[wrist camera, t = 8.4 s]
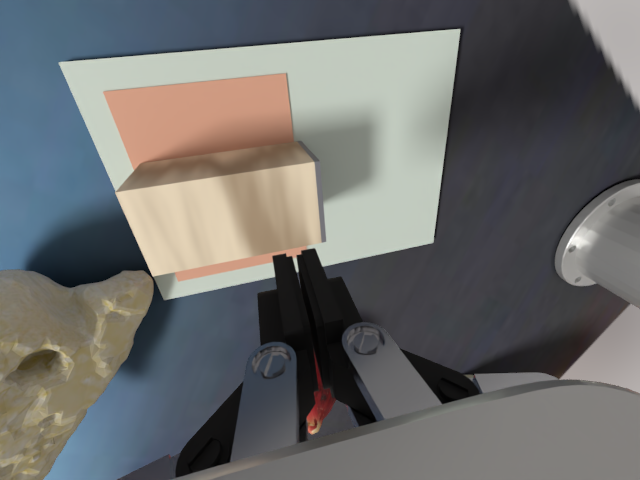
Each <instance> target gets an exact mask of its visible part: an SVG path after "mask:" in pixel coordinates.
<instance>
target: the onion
mask: <svg viewBox="0 0 640 480" xmlns="http://www.w3.org/2000/svg"><path fill="white" fill-rule="evenodd" d="M313 350H314V349H313ZM314 357H315V353H314ZM315 365H316V372H317V380H318V387H319V391H316V392H314V396H315V403H316V404H315V405H314V407H313V409H312V410H311V412H310V413H309V415H308V416H307V421H308V432H309V433H310V434H314V433H316V432H318V431H319V428H320V427H321V424H322V421H323V419H324V418H325V417H326V416H327V415H328V414H329V412H330V411H331V409H332V406H333V404H334V402H335V401H336V399H335V398H332V396H331V392H330V388H328V389H323V385H322V381H321V377H320V373H319V369H318V365H317V361H316V357H315Z"/></svg>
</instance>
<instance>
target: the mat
mask: <svg viewBox="0 0 640 480" xmlns="http://www.w3.org/2000/svg"><path fill="white" fill-rule="evenodd" d="M460 30H461V29H452V30H440V31H428V32H416V33H404V34H392V35H380V36H368V37H356V38H344V39H332V40H320V41H308V42H296V43H284V44H272V45H260V46H248V47H236V48H224V49H212V50H200V51H188V52H176V53H164V54H152V55H140V56H128V57H116V58H104V59H92V60H80V61H68V62H59V65H60V67H61V69H62V71H63V74H64V76H65V78H66V80H67V83H68V85H69V87H70V89H71V92H72V94H73V96H74V99H75V101H76V103H77V105H78V108H79V110H80V112H81V114H82V117H83V119H84V121H85V123H86V126H87V128H88V130H89V132H90V135H91V137H92V139H93V141H94V144H95V146H96V148H97V150H98V153H99V155H100V157H101V159H102V162H103V164H104V166H105V168H106V171H107V173H108V175H109V177H110V180H111V182H112V184H113V186H114V189H115V191H117V190H118V188H119V187H120V186H121V185H122V184H123V183H124V182H125V180H126V179H127V178H128V177H129V176H130V175H131V174H132V172H133V171H134V170H135V169H136V168H137V167H138V166H139V164H140V163H146V162H153V161H161V160H168V159H175V158H182V157H189V156H196V155H204V154H211V153H218V152H225V151H232V150H239V149H247V148H254V147H261V146H268V145H275V144H282V143H290V142H297V141H302V142H303V143H304V144H305V145H306V146H307V147H308V149H309V150H310V151H311V152H312V153H313V154H314V155H315V156H316V157H317V158H318V159H319V160H320V167H321V180H322V193H323V205H324V218H325V231H326V242H323V243H318V244H313V245H308V246H303V247H298V248H293V249H288V250H283V251H278V252H273V253H268V254H263V255H258V256H253V257H248V258H243V259H238V260H233V261H228V262H223V263H218V264H213V265H208V266H203V267H198V268H193V269H188V270H183V271H178V272H173V273H168V274H163V275H158V276H153V277H154V279H155V281H156V283H157V286H158V288H159V290H160V292H161V295H162V297H163V299H164V300H168V299H173V298H178V297H182V296H187V295H192V294H196V293H201V292H206V291H210V290H215V289H220V288H224V287H229V286H234V285H238V284H243V283H248V282H252V281H257V280H262V279H267V278H271V277H275V272H274V265H273V259H272V256H274V255H279V254H285V253H286V255H287V257H289V256H292V257H293V261H294V265H295V269H296V272H299V271H298V264H297V257H296V255H300V254H301V250H306V249H312V248H315V249H316V252H317V254H318V257H319V259H320V262H321V264H322V267H323V266H327V265H332V264H337V263H341V262H346V261H351V260H355V259H360V258H365V257H369V256H374V255H379V254H383V253H388V252H393V251H397V250H402V249H407V248H411V247H416V246H421V245H425V244H430V243H433V241H434V233H435V225H436V217H437V209H438V201H439V194H440V186H441V178H442V170H443V162H444V155H445V147H446V139H447V131H448V123H449V116H450V108H451V100H452V92H453V84H454V76H455V69H456V61H457V53H458V45H459V37H460Z"/></svg>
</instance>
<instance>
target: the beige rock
mask: <svg viewBox="0 0 640 480" xmlns="http://www.w3.org/2000/svg"><path fill="white" fill-rule="evenodd" d="M152 297H153V280H152V278H151V277H150V276H149V275H148V274H147V273H146V272H145V271H141V270H139V271H122V272H121V273H120V274H117V275H115V276H113V277H111V278H109V279H107V280H104V281H102V282H97V283H89V284H83V285H79V286H76V287H73V288H68V287H64V286H62V285H60V284H58V283H56V282H54V281H53V280H51V279H50V278H48V277H46V276H44V275H42V274H39V273H37V272H34V271H24V270H20V269H16V270H2V271H0V480H43V479H44V477H45V476H46V475H47V474H48V473H49V472H50V470H51V468H52V466H53V464H54V462H55V460H56V458H57V457H58V455H59V454H60V452H61V451H62V449H63V448H64V446H65V444H66V442H67V440H68V439H69V438H70V436H71V435H72V434H73V433H74V431H75V430H76V429H77V427H78V425H79V424H80V422H81V421H82V420H83V418H84V417H85V415H86V413H87V409H88V408H89V407H90V406H91V405H92V404H94V403H95V402H96V401H97V399H98V398H99V396H100V395H101V394H102V393H103V392H104V391H105V389H106V387H107V385H108V384H109V382H110V381H111V380H112V378H113V377H114V376H115V374H116V372H117V371H118V369H119V367H120V366H121V364H122V363H123V362H124V361H125V360H126V359H127V357H128V355H129V352H130V350H131V348H132V346H133V343H134V342H133V338H134V335H135V332H136V330H137V328H138V327H139V325H140V323H141V321H142V319H143V317H144V316H145V315H146V313H147V311H148V309H149V306H150V304H151V301H152Z"/></svg>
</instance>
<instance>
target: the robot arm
mask: <svg viewBox="0 0 640 480" xmlns="http://www.w3.org/2000/svg"><path fill="white" fill-rule="evenodd" d="M296 257H297V264H298V271H299V278H300V284H299V280H298V277H297V273H296V269H295V265H294V261H293V257H292V256H289V257H287V255H286V253H285V254H279V255H274V256H272V259H273V265H274V272H275V278H276V285H277V289H275V290H270V291H265V292H260V293H258V310H259V326H260V342H261V346H260V347H258V348H257V349H256V350H255V351H253V352H252V354H251V355H250V357H249V358H248V361H247V364H246V370H245V376H244V381H243V382H242V383H241V384H240V386H239V387H238V388H237V389H236V390H235V391H234V392H233V393H232V394H231V395H230V397H229V398H228V399H227V400H226V401H225V402H224V403H223V404H222V405H221V406H220V407H219V409H218V410H217V411H216V412H215V413H214V414H213V415H212V416H211V417H210V418H209V420H208V421H207V422H206V423H205V424H204V425H203V426H202V427H201V428H200V429H199V431H198V432H197V433H196V434H195V435H194V436H193V437H192V438H191V439H190V440H189V441H188V443H187V444H186V445H185V447H184V448H183V450H182V451H181V453H179V454H177V455H175V456H173V457H170V455H169V454H168V455H166V456H164V457H162V458H160V459H158V460H156V461H154V462H152V463H150V464H148V465H146V466H144V467H142V468H139V469H137V470H135V471H133V472H131V473H129V474H127V475H125V476H123V477H121V478H119V479H117V480H640V393H637V392H635V391H632V390H630V389H627V388H623V387H619V386H616V385H611V384H606V383H601V382H593V381H584V380H559V379H557V378H556V377H553V376H551V375H548V374H545V373H537V372H534V373H494V374H474V377H473V378H468V377H466V376H465V375H463V374H461V373H459V372H457V371H454V370H452V369H449V368H447V367H444V366H442V365H440V364H437V363H435V362H432V361H430V360H427V359H425V358H422V357H420V356H417V355H415V354H412V353H410V352H407V351H405V350H402V349H400V348H399V347H398V346H397V345H396V343H395V342H394V341H393V339H392V338H391V337H390V336H389V334H388V333H387V332H386V331H385V330H384V329H383V328H382V327H380V326H378V325H376V324H373V323H369V322H363V321H362V319H361V317H360V315H359V313H358V311H357V309H356V306H355V304H354V302H353V300H352V298H351V296H350V294H349V291H348V289H347V287H346V285H345V283H344V281H343V279H342V277H336V278H331V279H327V277H326V274H325V272H324V269H323V267H322V264H321V262H320V259H319V257H318V254H317V252H316V249H315V248H312V249H306V250H301V254H300V255H296ZM555 268H556V272H557V273H558V275H559V276H560V277H561V278H562V279H564V280H565V281H567V282H568V283H570V284H572V285H575V286H588V285H592V284H596V283H598V284H599V285H601V286H603V287H604V288H606V289H608V290H609V291H611V292H613V293H614V294H616V295H618V296H619V297H621V298H623V299H624V300H626V301H628V302H629V303H631V304H633V305H635V306H636V307H638V308H639V309H640V179H635V180H630V181H625V182H623V183H620V184H618V185H615V186H613V187H612V188H610V189H608V190H606V191H604V192H603V193H601V194H600V195H599V196H597V197H596V198H595V199H593V200H592V201H591V202H590V203H589V204H588V205H587V206H585V207H584V208H583V209H582V210H581V211H580V213H579V214H578V215H577V216H576V217H575V218H574V219H573V221H572V222H571V223H570V225H569V226H568V228H567V229H566V231H565V233H564V234H563V236H562V238H561V240H560V242H559V245H558V247H557V251H556V255H555ZM300 285H301V288H300ZM313 349H314V350H313ZM314 353H315V357H316V361H317V365H318V369H319V373H320V377H321V381H322V385H323V389H328V388H330V392H331V396H332V398H335V399H337V400H338V401H340V402H342V403H344V404H346V408H347V411H348V414H349V416H350V418H351V420H352V422H353V424H354V426H355V428H353V429H349V430H345V431H342V432H338V433H334V434H331V435H327V436H323V437H320V438H316V439H312V440H309V441H308V421H307V416H308V415H309V413H310V412H311V410H312V409H313V407H314V405H315V404H316V403H315V396H314V392H316V391H319V387H318V380H317V372H316V365H315V357H314Z"/></svg>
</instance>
